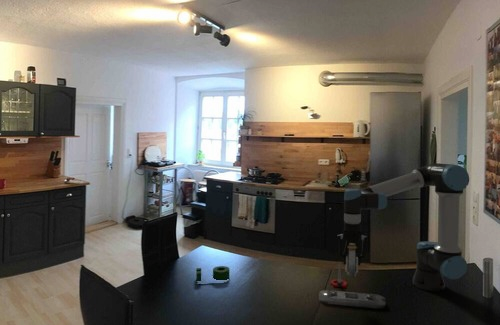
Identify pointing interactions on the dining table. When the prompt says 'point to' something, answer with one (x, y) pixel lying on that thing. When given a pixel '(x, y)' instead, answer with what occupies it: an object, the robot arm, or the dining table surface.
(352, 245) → the link pin
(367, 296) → the grey rounded bar
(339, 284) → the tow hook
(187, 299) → the dining table surface
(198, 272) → the slotted cylinder bracket
